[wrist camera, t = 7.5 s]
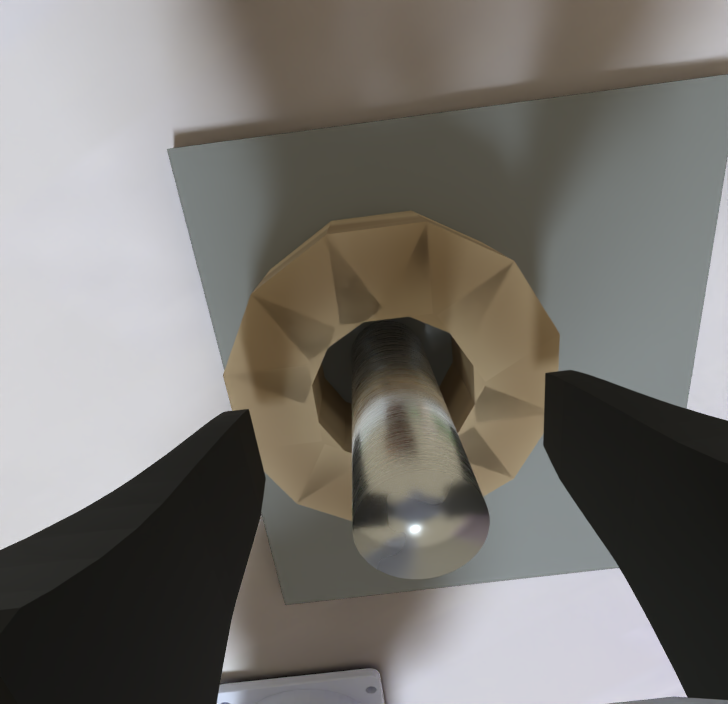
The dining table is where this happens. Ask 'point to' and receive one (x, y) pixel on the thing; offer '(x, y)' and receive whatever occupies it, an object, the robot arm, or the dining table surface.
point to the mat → (509, 237)
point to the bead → (379, 302)
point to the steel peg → (408, 462)
